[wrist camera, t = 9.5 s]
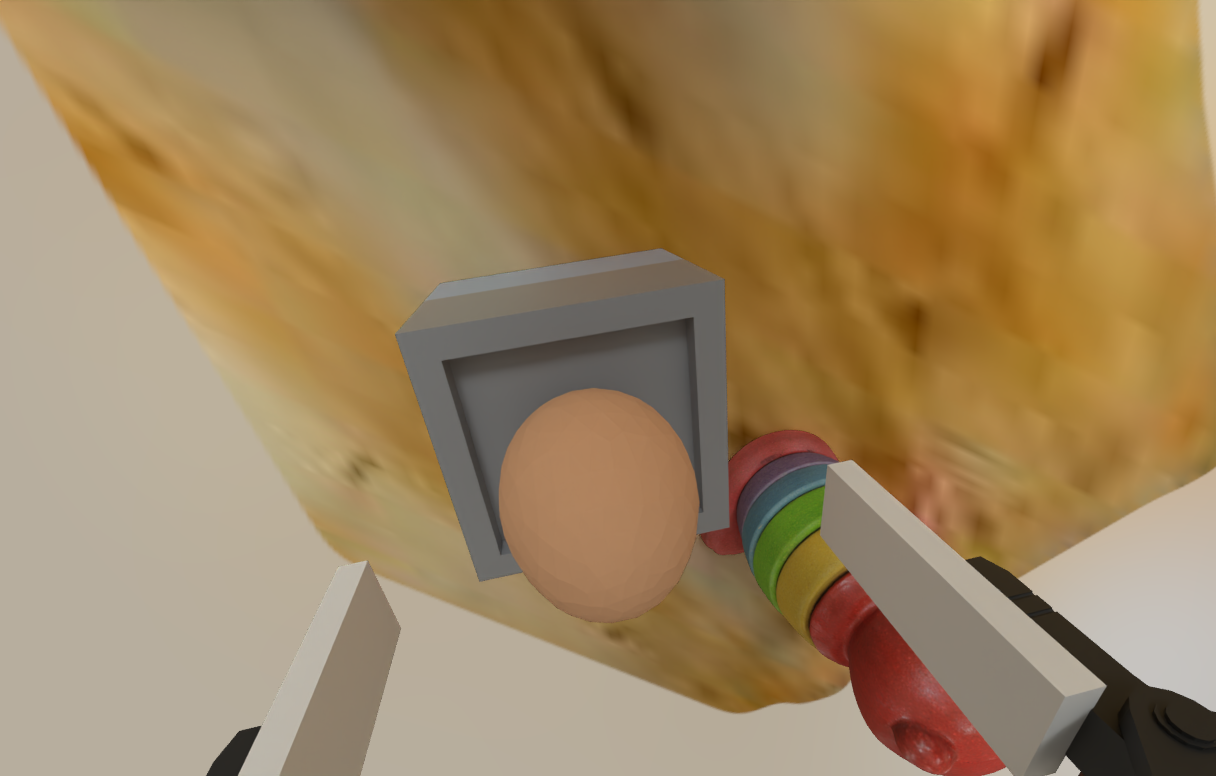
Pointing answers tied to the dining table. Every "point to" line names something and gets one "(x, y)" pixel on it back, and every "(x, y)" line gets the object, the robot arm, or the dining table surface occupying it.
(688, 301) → the grey square tray
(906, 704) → the stacking bear
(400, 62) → the dining table surface
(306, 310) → the dining table surface
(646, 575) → the egg
